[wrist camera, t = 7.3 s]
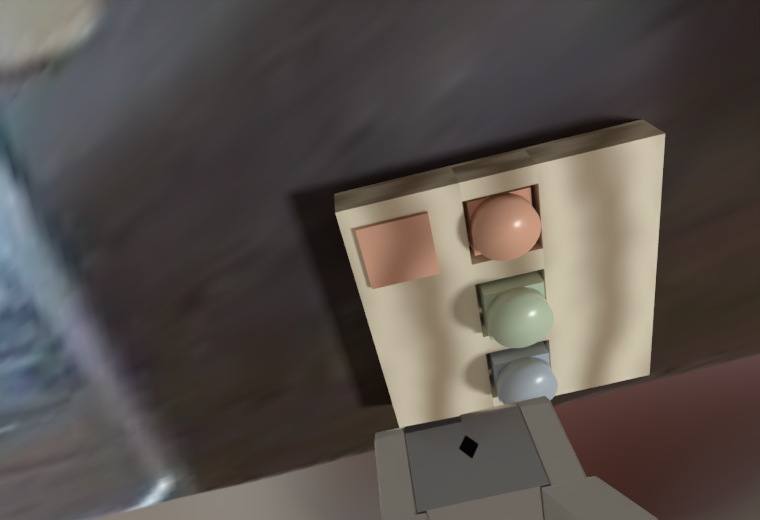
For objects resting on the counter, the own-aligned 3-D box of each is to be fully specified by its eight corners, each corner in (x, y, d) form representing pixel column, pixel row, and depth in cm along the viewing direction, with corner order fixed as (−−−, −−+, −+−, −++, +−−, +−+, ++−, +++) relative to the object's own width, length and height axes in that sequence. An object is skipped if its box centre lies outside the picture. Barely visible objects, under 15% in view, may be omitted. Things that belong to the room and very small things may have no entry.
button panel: (396, 404, 50) (400, 432, 47) (334, 193, 39) (335, 214, 36) (632, 351, 49) (651, 377, 46) (642, 119, 38) (667, 135, 35)
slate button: (492, 386, 47) (503, 416, 44) (486, 347, 45) (497, 376, 42) (544, 374, 47) (558, 404, 44) (541, 335, 45) (556, 363, 42)
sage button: (483, 325, 43) (494, 354, 41) (476, 279, 41) (487, 306, 38) (539, 312, 43) (555, 340, 40) (536, 265, 41) (552, 291, 38)
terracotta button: (467, 243, 41) (478, 267, 38) (459, 189, 39) (470, 210, 36) (527, 229, 41) (543, 252, 38) (522, 174, 38) (539, 194, 35)
